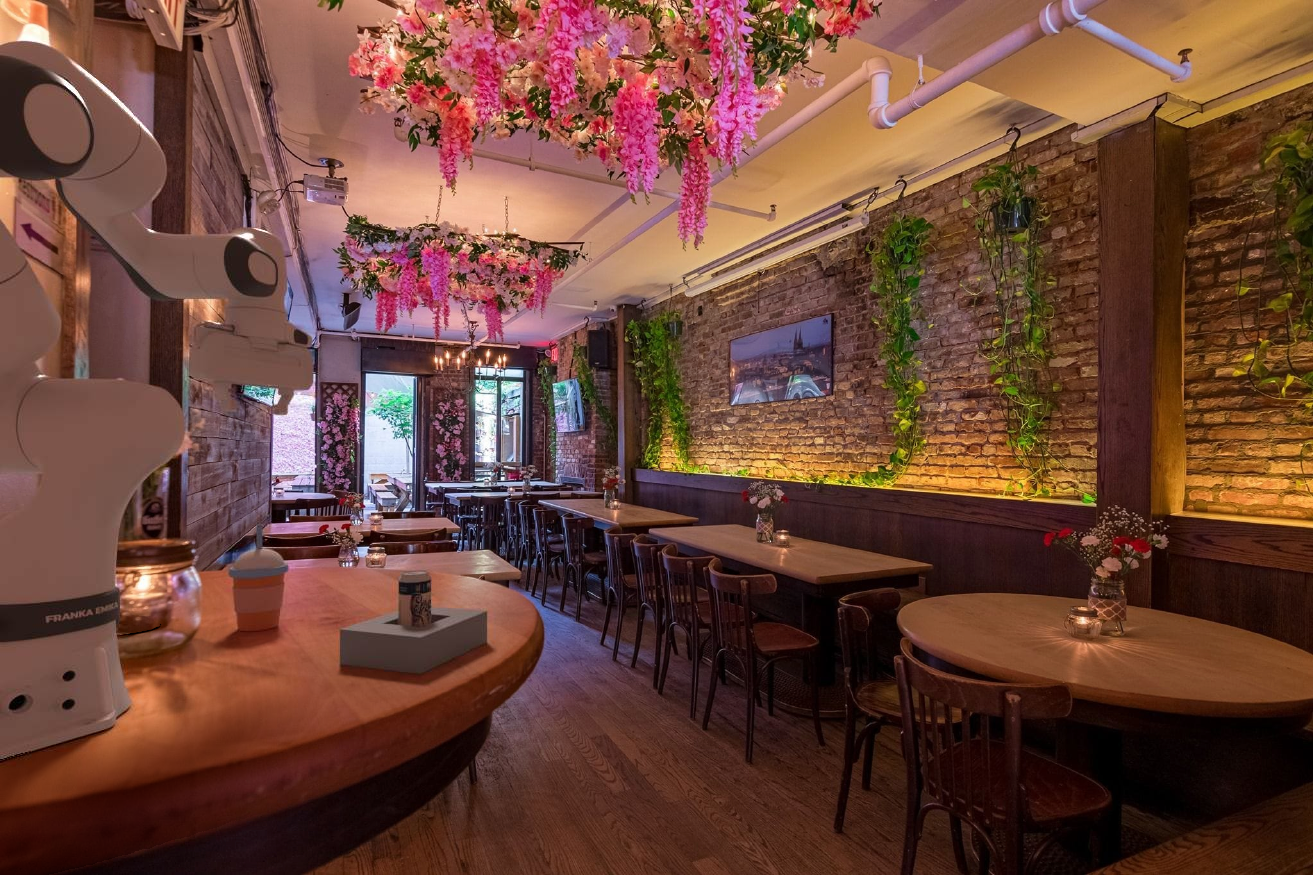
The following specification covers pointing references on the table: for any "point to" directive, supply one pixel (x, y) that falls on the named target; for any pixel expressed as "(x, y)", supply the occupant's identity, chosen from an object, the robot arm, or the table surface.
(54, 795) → the table surface
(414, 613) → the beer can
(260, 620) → the cup with straw
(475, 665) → the table surface
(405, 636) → the holder block
